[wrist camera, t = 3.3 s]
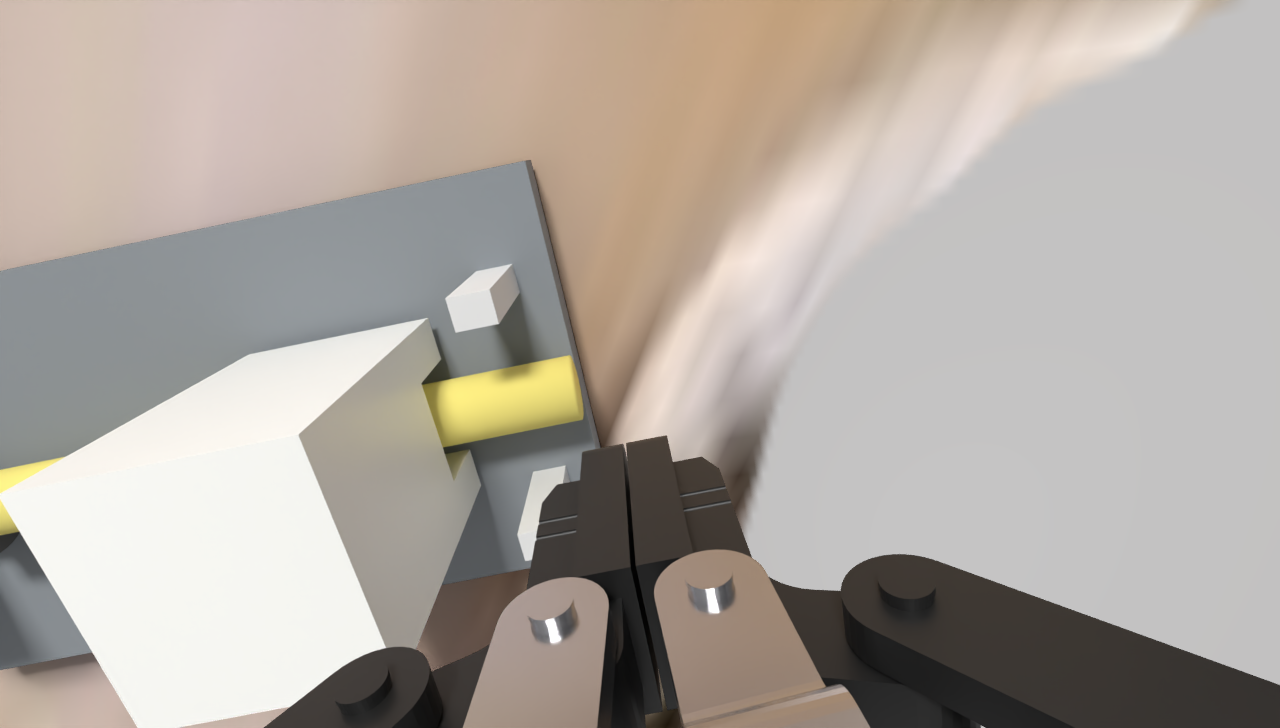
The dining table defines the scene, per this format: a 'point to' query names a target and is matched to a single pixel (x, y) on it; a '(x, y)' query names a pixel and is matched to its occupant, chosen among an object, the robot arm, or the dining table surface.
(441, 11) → the dining table surface
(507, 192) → the linear slide rail
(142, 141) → the dining table surface
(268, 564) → the sleeve
